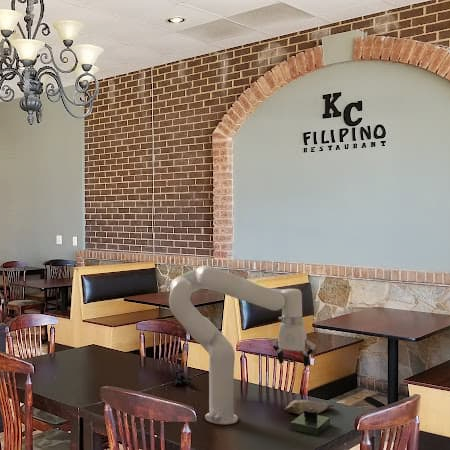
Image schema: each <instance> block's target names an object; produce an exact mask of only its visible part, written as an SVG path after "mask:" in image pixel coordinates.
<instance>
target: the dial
mask: <svg viewBox="0 0 450 450" xmlns="http://www.w3.org/2000/svg"><path fill="white" fill-rule="evenodd" d="M317 415H318V413H317V410H316V409H314V408H306V409H304V420H306V421H310V422H315V421H317Z"/></svg>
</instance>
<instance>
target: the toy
mask: <svg viewBox="0 0 450 450" xmlns="http://www.w3.org/2000/svg"><path fill="white" fill-rule="evenodd" d="M173 377H174V378H176V379H177V380H172V384H173V385H175V386H176V387H181V386H183V385H185V384H186V385H191V383H192V382H191V380H192V378H191V377H190V376H187V375H186V374H184V370H183V369H181V368H178V370H174V371H173Z"/></svg>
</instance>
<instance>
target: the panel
mask: <svg viewBox="0 0 450 450" xmlns="http://www.w3.org/2000/svg"><path fill="white" fill-rule="evenodd" d="M330 426H331V417H330V416H324V415H319V414H317V421H315V422H310V421H306V420H304V413H303V414H300V415H298V416H297V417H296V418H295V419H293V420H292V421H291V422H290V430H291V431H293V432H297V433H299V432H300V433H303V434H307V435H312V436H317V437H318V436H320V435H321V434H322V433H323V432H324V431H325V430H326V429H327V428H329V427H330Z"/></svg>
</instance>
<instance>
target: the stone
mask: <svg viewBox="0 0 450 450" xmlns="http://www.w3.org/2000/svg"><path fill="white" fill-rule="evenodd" d="M331 407H335V406H334V404H331V403H327V402H321V401H312V400H308V399H294V400H292V401H291V402H289V403H288V404H287V406H286V407H285V408H284V411H286V412H289V413H292V414H296V415H298V416H300V415H301V414H303V413H304V409H306V408H314V409H316V410H317V415H319V414H321V413H323V412H325V411H328V410H329V409H330V408H331Z"/></svg>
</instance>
